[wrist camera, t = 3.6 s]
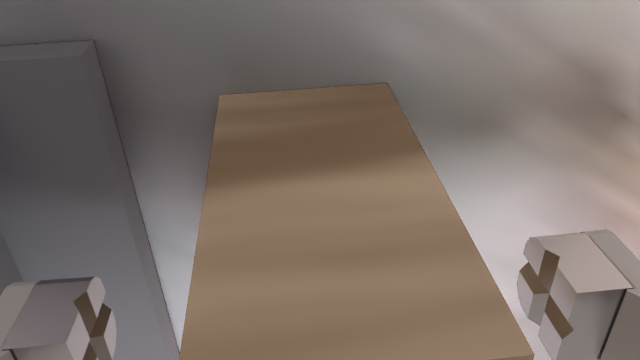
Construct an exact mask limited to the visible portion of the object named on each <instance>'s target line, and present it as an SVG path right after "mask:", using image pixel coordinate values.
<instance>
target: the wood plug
mask: <svg viewBox="0 0 640 360" xmlns="http://www.w3.org/2000/svg"><path fill="white" fill-rule="evenodd" d="M533 358H534V353H533V351H532V349H531V347H530V345H529V343H528V342H527V340H526V338H525V336H524V334H523V332H522V331H521V329H520V327H519V325H518V323H517V321H516V320H515V318H514V316H513V314H512V312H511V310H510V308H509V307H508V305H507V303H506V301H505V299H504V297H503V296H502V294H501V292H500V290H499V288H498V286H497V285H496V283H495V281H494V279H493V277H492V275H491V273H490V272H489V270H488V268H487V266H486V264H485V262H484V261H483V259H482V257H481V255H480V253H479V251H478V250H477V248H476V246H475V244H474V242H473V240H472V238H471V237H470V235H469V233H468V231H467V229H466V227H465V226H464V224H463V222H462V220H461V218H460V216H459V214H458V213H457V211H456V209H455V207H454V205H453V203H452V202H451V200H450V198H449V196H448V194H447V192H446V191H445V189H444V187H443V185H442V183H441V181H440V179H439V178H438V176H437V174H436V172H435V170H434V168H433V167H432V165H431V163H430V161H429V159H428V157H427V156H426V154H425V152H424V150H423V148H422V146H421V144H420V143H419V141H418V139H417V137H416V135H415V133H414V132H413V130H412V128H411V126H410V124H409V122H408V120H407V119H406V117H405V115H404V113H403V111H402V109H401V108H400V106H399V104H398V102H397V100H396V98H395V97H394V95H393V93H392V91H391V89H390V87H389V85H388V84H387V83H378V84H365V85H351V86H337V87H323V88H310V89H296V90H282V91H269V92H255V93H241V94H228V95H219V102H218V108H217V115H216V121H215V128H214V134H213V141H212V147H211V154H210V160H209V167H208V173H207V180H206V186H205V193H204V199H203V206H202V212H201V219H200V225H199V232H198V238H197V245H196V251H195V258H194V264H193V271H192V277H191V284H190V290H189V297H188V303H187V310H186V316H185V323H184V330H183V336H182V343H181V349H180V356H179V360H533Z"/></svg>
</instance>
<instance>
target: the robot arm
mask: <svg viewBox="0 0 640 360" xmlns="http://www.w3.org/2000/svg"><path fill="white" fill-rule="evenodd" d="M523 254H524V255H525V257H526V258H527V260H528V263H527V264H526V265H525V266H524V267H523V268H522V269H521V270H520V271H519V276H518V281H517V289H518V298H519V301H520V304H521V307H522V309H523V311H524V313H525V314H526V316H527V318H528V319H530V320H531V321H533V322H535V323H536V324H538V325H539V326H540V330H539V334H538V337H539V339H540V341H541V342H542V344H543V346H544V347H545V349H546V351H547V353H548V354H549V356H550V358H551V359H552V360H640V261H639V260H638V259H637V257H636V256H635V255H634V254H633V253H632V252H631V251H630V250H629V249H628V248H627V247H626V246H625V245H624V244H623V242H622V241H621V240H620V239H619V238H618V237H617V236H616V235H615V234H614V233H613V232H611V231H609V230H607V229H603V230H594V231H585V232H580V233H570V234H560V235H550V236H539V237H530V238H529V240H528V241H527V243H526V245H525V249H524V253H523ZM105 293H106V291H105V289H104V286H103V284H102V281H101V279H100V278H98V277H81V278H66V279H52V280H41V281H30V282H15V283H11V284H10V285H8V286H7V287H6V288H5V289H4V290H3V292H2V294H1V296H0V360H112V359H113V355H114V351H115V347H116V333H117V330H116V323H115V318H114V315H113V311H112V309H110V308H109V307H108V306H106V305H105V304H103V303H102V302H103V299H104V296H105Z"/></svg>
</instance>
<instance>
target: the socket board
mask: <svg viewBox="0 0 640 360" xmlns="http://www.w3.org/2000/svg"><path fill="white" fill-rule="evenodd" d="M81 277H98V278H100V279H101V281H102V284H103V286H104V289H105V291H106V293H105V296H104V299H103V302H102V303H103V304H105V305H106V306H108V307H109V308H110V309H112V311H113V315H114V318H115V323H116V330H117V333H116V347H115V351H114V355H113V359H112V360H179V356H180V354H179V351H178V347H177V343H176V340H175V336H174V332H173V329H172V325H171V321H170V318H169V314H168V311H167V307H166V303H165V300H164V296H163V292H162V289H161V285H160V281H159V278H158V274H157V270H156V267H155V263H154V260H153V256H152V252H151V249H150V245H149V241H148V238H147V234H146V230H145V227H144V223H143V220H142V216H141V212H140V209H139V205H138V201H137V198H136V194H135V190H134V187H133V183H132V179H131V176H130V172H129V169H128V165H127V161H126V158H125V154H124V150H123V147H122V143H121V139H120V136H119V132H118V128H117V125H116V121H115V118H114V114H113V110H112V107H111V103H110V99H109V96H108V92H107V88H106V85H105V81H104V77H103V74H102V70H101V67H100V63H99V59H98V56H97V52H96V48H95V45H94V41H93V40H86V41H70V42H55V43H40V44H24V45H9V46H0V296H1V294H2V292H3V290H4V289H5V288H6V287H7V286H8V285H10V284H11V283H15V282H30V281H41V280H52V279H66V278H81Z"/></svg>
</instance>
